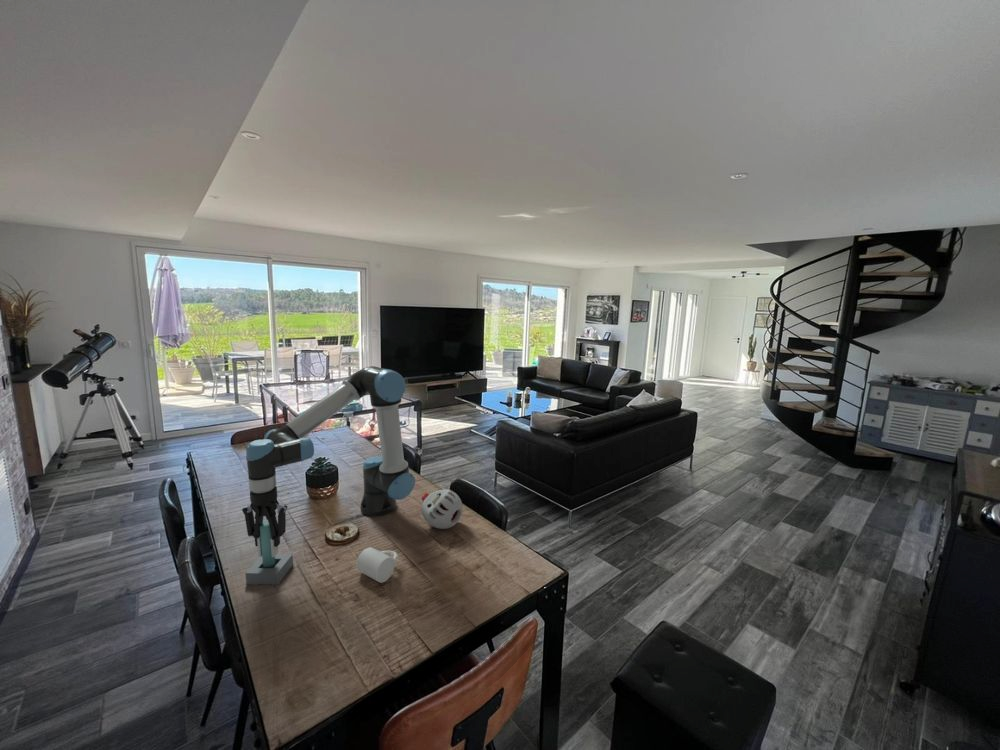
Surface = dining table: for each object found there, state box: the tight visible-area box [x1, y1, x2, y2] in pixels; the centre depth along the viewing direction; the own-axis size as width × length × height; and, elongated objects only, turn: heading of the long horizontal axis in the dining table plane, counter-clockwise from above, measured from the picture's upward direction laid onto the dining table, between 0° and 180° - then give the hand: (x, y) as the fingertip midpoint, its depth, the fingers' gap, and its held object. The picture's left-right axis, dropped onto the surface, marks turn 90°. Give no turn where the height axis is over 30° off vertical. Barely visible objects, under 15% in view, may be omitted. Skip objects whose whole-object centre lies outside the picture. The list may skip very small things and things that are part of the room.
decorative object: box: [421, 489, 464, 530], centre depth 165 cm, size 15×19×15 cm
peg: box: [260, 521, 275, 567], centre depth 132 cm, size 4×4×14 cm
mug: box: [356, 547, 399, 584], centre depth 136 cm, size 12×10×8 cm
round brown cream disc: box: [324, 522, 360, 546], centre depth 156 cm, size 15×15×4 cm
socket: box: [245, 553, 294, 586], centre depth 133 cm, size 10×10×4 cm
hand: (268, 554), depth 132 cm, fingers closed on peg, 3 cm apart
